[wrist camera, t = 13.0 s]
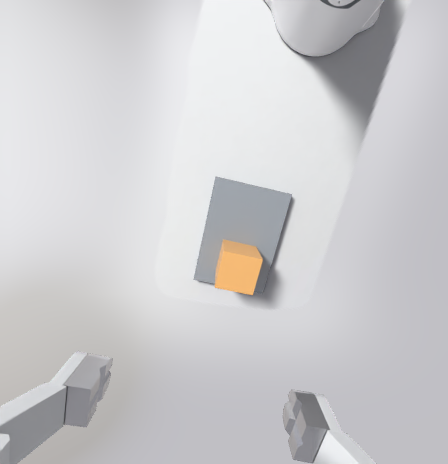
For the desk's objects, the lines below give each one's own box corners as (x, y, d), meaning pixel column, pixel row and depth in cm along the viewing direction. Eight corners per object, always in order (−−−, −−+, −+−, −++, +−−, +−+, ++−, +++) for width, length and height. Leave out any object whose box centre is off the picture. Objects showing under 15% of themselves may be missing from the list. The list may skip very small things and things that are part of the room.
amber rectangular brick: (223, 239, 42) (223, 251, 36) (256, 246, 43) (262, 259, 36) (215, 270, 44) (214, 287, 37) (247, 277, 44) (252, 295, 37)
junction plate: (215, 176, 41) (215, 176, 35) (289, 193, 42) (300, 196, 36) (194, 276, 46) (190, 290, 40) (261, 290, 47) (267, 306, 41)
